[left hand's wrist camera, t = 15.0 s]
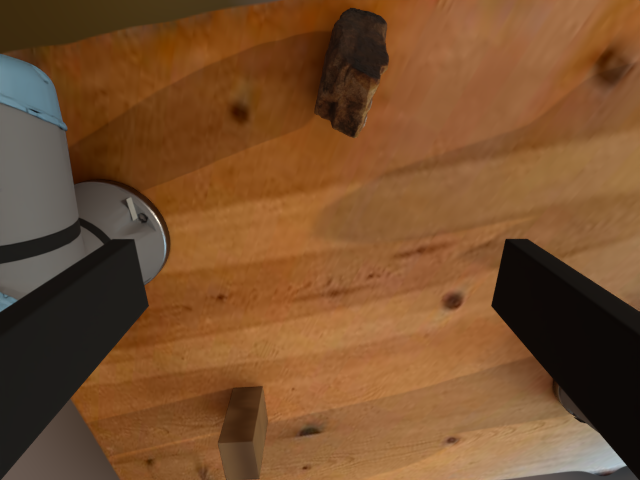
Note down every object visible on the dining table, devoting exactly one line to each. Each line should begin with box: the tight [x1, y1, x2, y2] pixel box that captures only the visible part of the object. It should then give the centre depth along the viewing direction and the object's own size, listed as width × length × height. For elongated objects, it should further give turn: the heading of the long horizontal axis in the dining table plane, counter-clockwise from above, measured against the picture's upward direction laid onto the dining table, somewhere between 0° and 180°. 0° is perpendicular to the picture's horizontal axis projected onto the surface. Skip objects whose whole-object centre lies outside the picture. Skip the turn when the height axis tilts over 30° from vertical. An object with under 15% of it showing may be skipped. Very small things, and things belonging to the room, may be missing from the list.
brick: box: [218, 387, 268, 480], centre depth 53 cm, size 5×8×10 cm, turn 3°
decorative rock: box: [315, 8, 389, 138], centre depth 34 cm, size 12×6×11 cm, turn 161°
